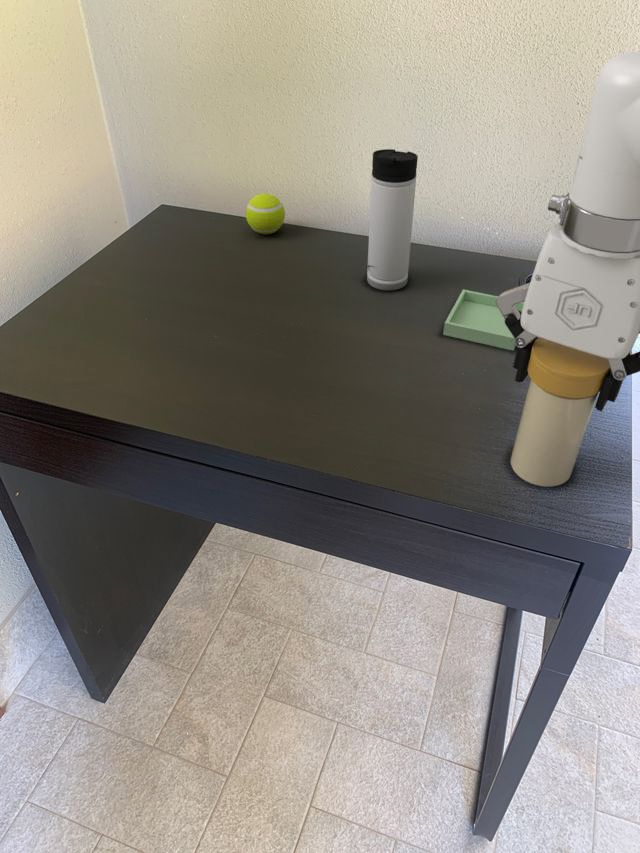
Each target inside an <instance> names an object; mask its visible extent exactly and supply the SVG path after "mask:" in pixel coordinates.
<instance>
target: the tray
mask: <svg viewBox="0 0 640 853" xmlns="http://www.w3.org/2000/svg"><path fill="white" fill-rule="evenodd" d="M498 297H499V295H498V296H497V295H493V294H488V293H483V292H478V291H473V290H470V289H469V290H468V289H462V290H461V292H460V294H459V296H458V298H457V299H456V302H455V303H454V305H453V306H452V309H451V310H450V311H449V312H450V313H449V314H448V316H447V318H446V320H445V321H444V325H443V333H442V335H443V336H446V337H452V338H456V339H460V340H464V341H469V342H473V343H478V344H482V345H486V346H491V347H494V348H495V347H496V348H499V349H504V350H508V351H513V352H514V351H515V348H516V347H517V346H516V345H515V343H514V340H515V338H514V336H513V335H512V333H511V332H510V331H509V329H508V328H507V326H506V325H505V318H504V316H502V314H501V312H500V310H499V308H498V306H497V304H496V299H497V298H498ZM524 302H525V301H524ZM524 302H521V303H518V304H516V305H517V307H518V308H517V309H518V310H519V311H521V312H522V309H523V306H524Z"/></svg>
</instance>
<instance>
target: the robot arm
mask: <svg viewBox="0 0 640 853" xmlns="http://www.w3.org/2000/svg"><path fill="white" fill-rule="evenodd" d="M577 154H578V155H577V159H576V163H575V166H574V171H573V176H572V179H571V183H570V188H569V191H568V192H567V194H561V195H557V194H552V195H551V197H550V199H549V202H548V206H547V210H548V211H549V212H553V213H555V214H557V215H559V216H558V217H559V219H560V221H559V222H557V223H556V225H554V226H552V227H551V228H550V230H549V232H548V234H547V236H546V238H545V240H544V243H543V245H542V247H541V250H540V252H539V255H538V258H537V261H536V264H535V267H534V269H533V272H532V275H531V278H530V282H528V283H525V284H522V285H520V286H519V285H518V286H516V287H514V288H511V289H508V290H506V291H504V292H501V293H500V294H499V295H498V298H497V299H496V304H497V306H498V308H499V310H500V312H501V314H502V316H504V318H505V325H506V326H507V328H508V329H509V331H510V332H511V333H512V335H513V336H514V338H515V340H514V343H515V345H516V346H515V347H516V352H515V357H514V361H513V364H512V368H513V369H515V370H516V374H515V379H514V382H515V383H516V382H517V383H523V382H524V381H525V380H526V378H527V377H528V376H529V375H528V370H527V368H528V363H529V359H530V355H531V350H532V346H533V343H534V342H535V340H536V339H538V338H542V339H545V340H548V341H551V342H554V343H557V344H560V345H563V346H566V347H569V348H572V349H576V350H579V351H582V352H585V353H588V354H592V355H595V356H598V357H602V358H606V359H608V362H609V365H610V371H609V372H608V373H607V375H606V376H605V379H604V381H603V384H602V387H601V390H600V392H599V394H598V397H597V400H596V403H595V406H594V409H595V410H597V411H599V412H603V410H604V408H605V406H606V404H607V402H612V403H615V402H616V400H617V397H618V395H619V393H620V390H621V388H622V386H623V382H624V380H625V379H626V378H627V377H628V376H631V375H633V374H638V373H640V351H637V352H634V353H633V352H632V349H633V348H634V345H635V344H636V341H637V339H638V337H639V335H640V51H631V52H625V53H621V54H617V55H615V56H613V57H612V58H610V59H608V60H607V61H606V62H605V63H604V65H603V66H602V67H601V69H600V71H599V73H598V75H597V77H596V81H595V84H594V89H593V93H592V97H591V100H590V105H589V109H588V112H587V116H586V121H585V125H584V129H583V133H582V138H581V142H580V146H579V150H578V153H577ZM521 302H524V306H523V309H522V312H521V311H519V310H518V309H517V308H518V307H517V305H516V304H518V303H521Z"/></svg>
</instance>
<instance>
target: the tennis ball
mask: <svg viewBox="0 0 640 853" xmlns="http://www.w3.org/2000/svg"><path fill="white" fill-rule="evenodd" d="M285 211H286V210H285V207H284V204H283V202H282V201H281V200H280V199H279V198H278V197H276V196H275V195H274V194H271V193H260V194H256V195H255V196H253V197H252V198H251V199H250V200H249V202H248V203H247V205H246V209H245V218H246V219H245V220H246V221H247V224H248V226H249V227H250V228H251V229H252V230H253V231H254V232H256V233H258V234H261V235H271V234H274V233H276V232H277V231H279V230H280V228H281V227H282V225H283V224H284V223H285V217H286V212H285Z"/></svg>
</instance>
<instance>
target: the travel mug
mask: <svg viewBox="0 0 640 853" xmlns="http://www.w3.org/2000/svg"><path fill="white" fill-rule="evenodd" d="M418 159H419V156H418V155H417V153H415V152H412V151H407V152H406V151H400V150H398V151H397V150H396V149H395V148H394V149H392V148H391V149H390V148H387V149H378V150H375V151H373V152H372V162H371V164H372V165H371V167H372V169H371V175H370V176H371V179H370V201H369V203H370V204H369V222H368V223H369V224H368V225H369V226H368V227H369V228H368V247H367V249H368V251H367V253H368V254H367V270H366V273H367V274H366V275H367V276H366V280H367V284H368V285H369V286H371V287H373V288H374V289H377V290H381V291H387V292H388V291H396V290H400V289H402V288H403V287H405V286H406V285H407V283H408V278H409V267H410V256H411V244H412V231H413V221H414V210H415V209H414V208H415V199H416V198H415V197H416V186H417V176H418V175H417V169H418Z"/></svg>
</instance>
